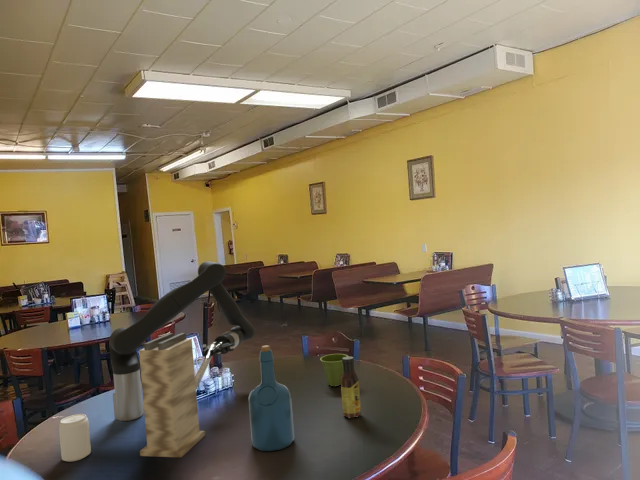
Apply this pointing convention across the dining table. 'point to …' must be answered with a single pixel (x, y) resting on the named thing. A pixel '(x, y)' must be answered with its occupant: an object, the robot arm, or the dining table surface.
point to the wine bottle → (270, 409)
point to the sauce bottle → (350, 389)
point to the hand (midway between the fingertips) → (207, 353)
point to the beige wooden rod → (203, 366)
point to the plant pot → (333, 368)
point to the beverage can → (74, 437)
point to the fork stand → (169, 396)
